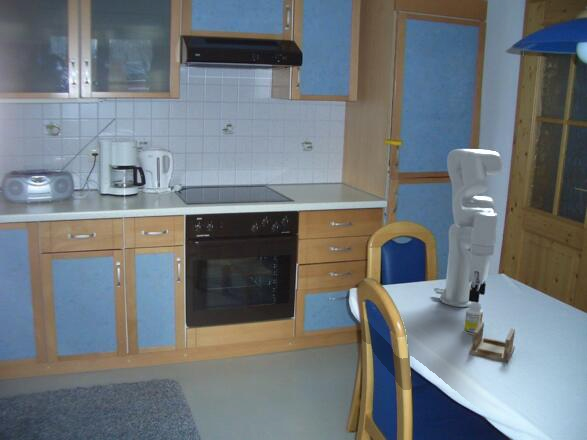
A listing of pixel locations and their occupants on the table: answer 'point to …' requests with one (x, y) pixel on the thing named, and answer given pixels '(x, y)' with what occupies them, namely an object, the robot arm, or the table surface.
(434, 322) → the table surface
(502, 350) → the holder
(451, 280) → the robot arm
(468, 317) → the supplement bottle
